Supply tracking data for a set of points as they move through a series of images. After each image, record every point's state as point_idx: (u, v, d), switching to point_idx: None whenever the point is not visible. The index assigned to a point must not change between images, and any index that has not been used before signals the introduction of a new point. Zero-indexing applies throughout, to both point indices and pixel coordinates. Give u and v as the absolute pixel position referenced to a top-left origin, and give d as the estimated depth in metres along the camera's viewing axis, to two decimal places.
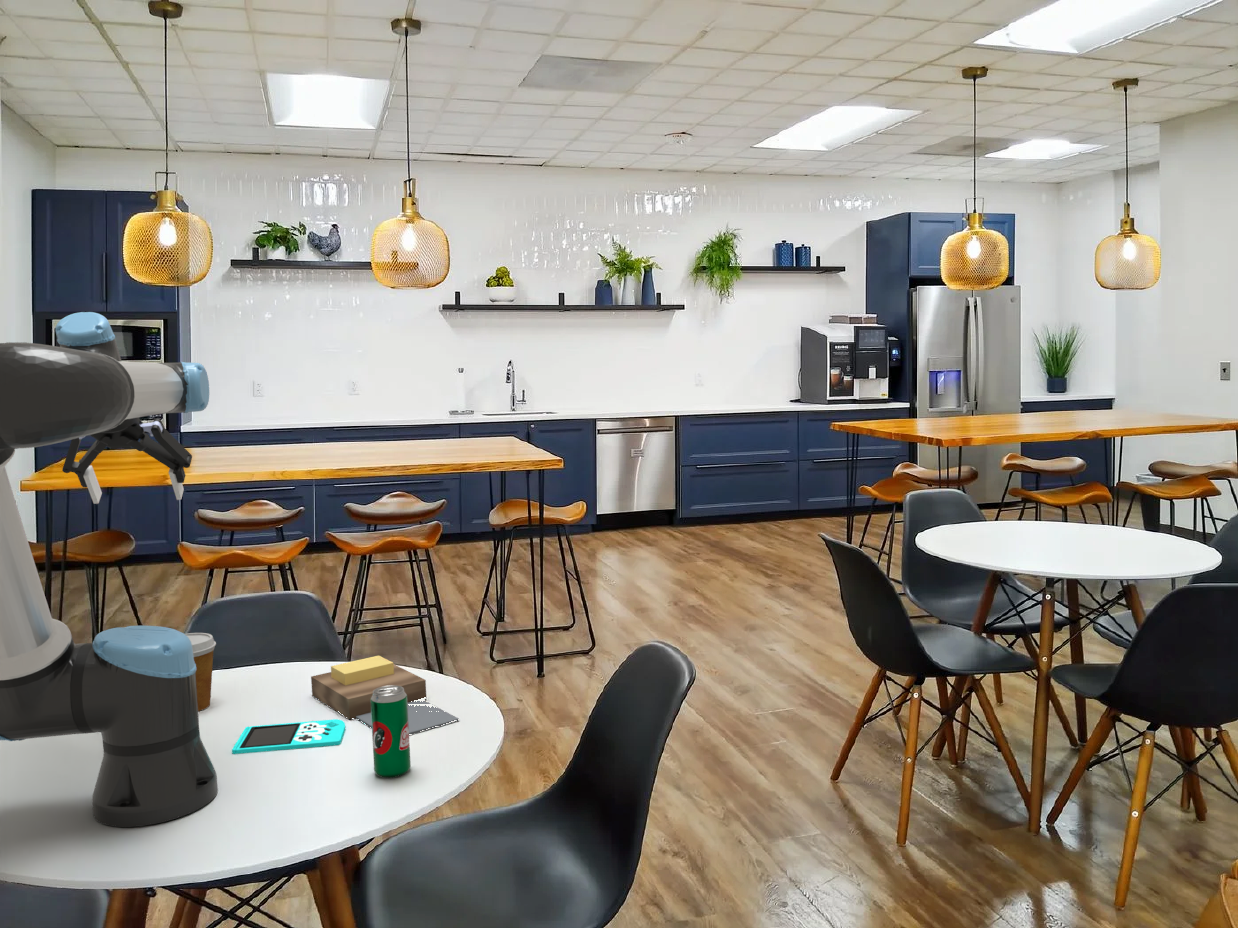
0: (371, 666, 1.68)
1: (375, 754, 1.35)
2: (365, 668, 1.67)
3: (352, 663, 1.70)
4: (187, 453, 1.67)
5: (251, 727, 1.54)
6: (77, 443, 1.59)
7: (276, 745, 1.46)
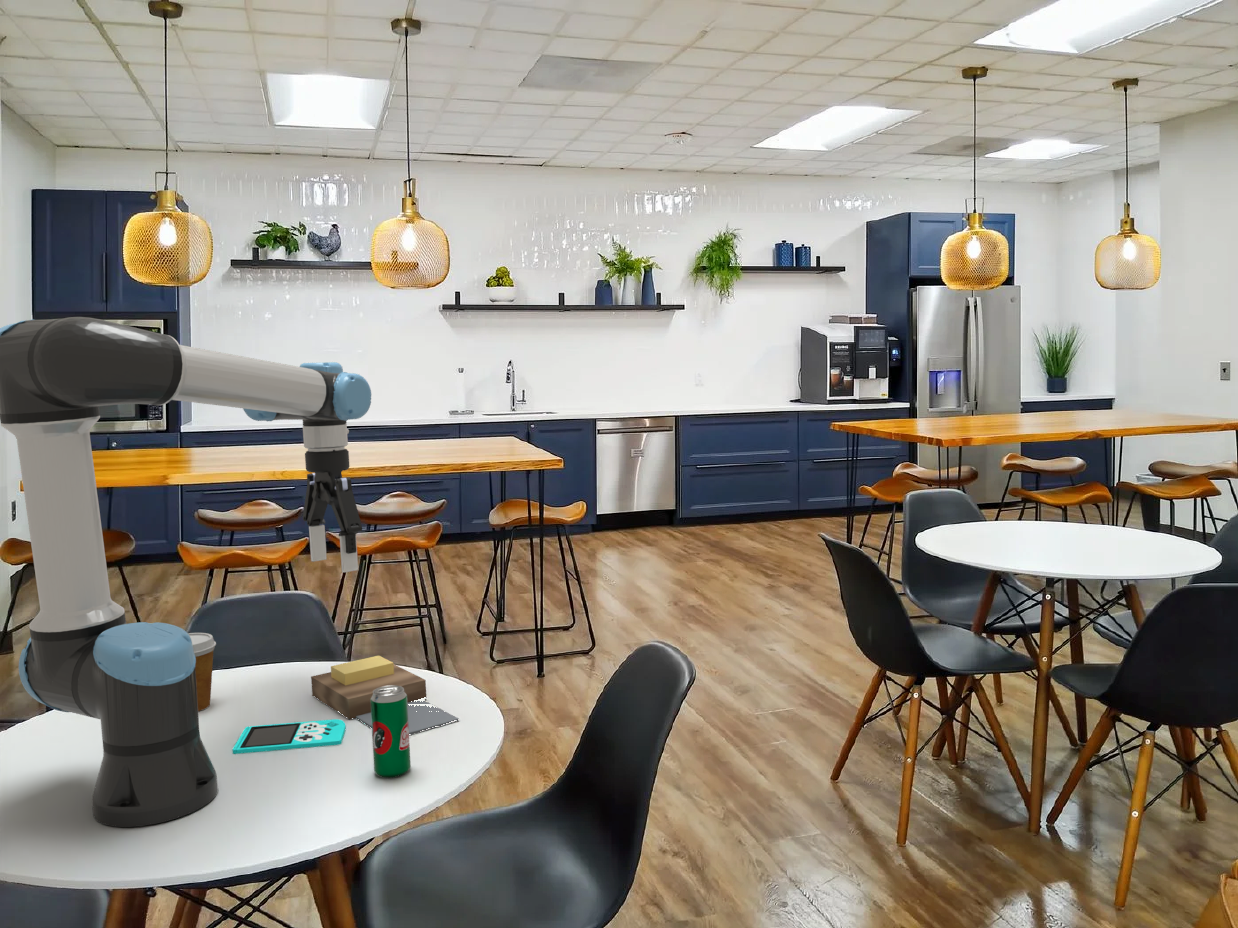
0: (371, 666, 1.68)
1: (375, 754, 1.35)
2: (365, 668, 1.67)
3: (352, 663, 1.70)
4: (357, 522, 1.67)
5: (251, 727, 1.54)
6: (309, 488, 1.77)
7: (277, 745, 1.46)
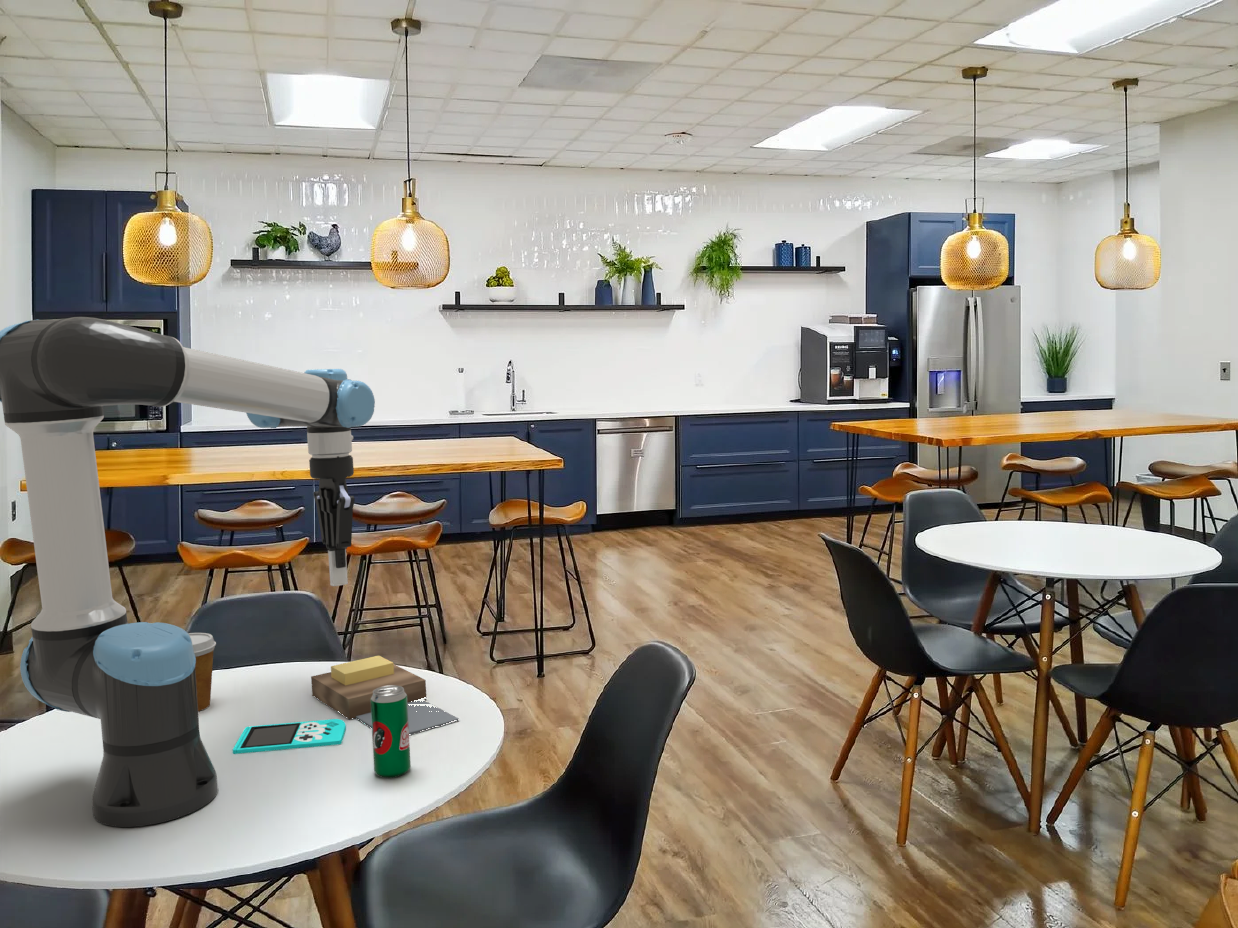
0: (371, 666, 1.68)
1: (375, 754, 1.35)
2: (365, 668, 1.67)
3: (352, 663, 1.70)
4: (348, 540, 1.72)
5: (251, 727, 1.54)
6: (318, 504, 1.76)
7: (277, 745, 1.47)
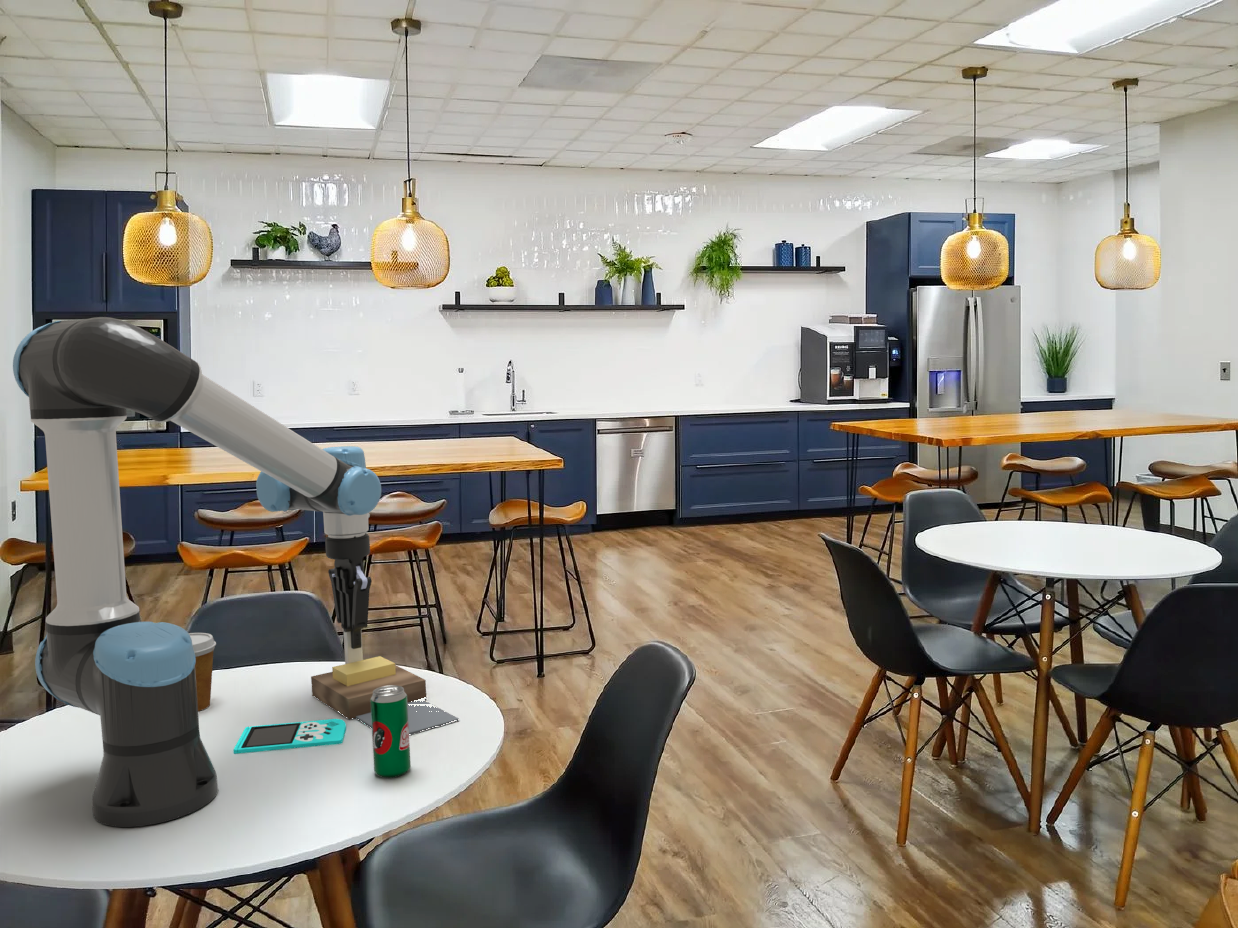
0: (373, 667, 1.68)
1: (375, 754, 1.35)
2: (367, 669, 1.67)
3: (353, 664, 1.70)
4: (364, 621, 1.69)
5: (251, 727, 1.54)
6: (333, 583, 1.73)
7: (278, 745, 1.47)
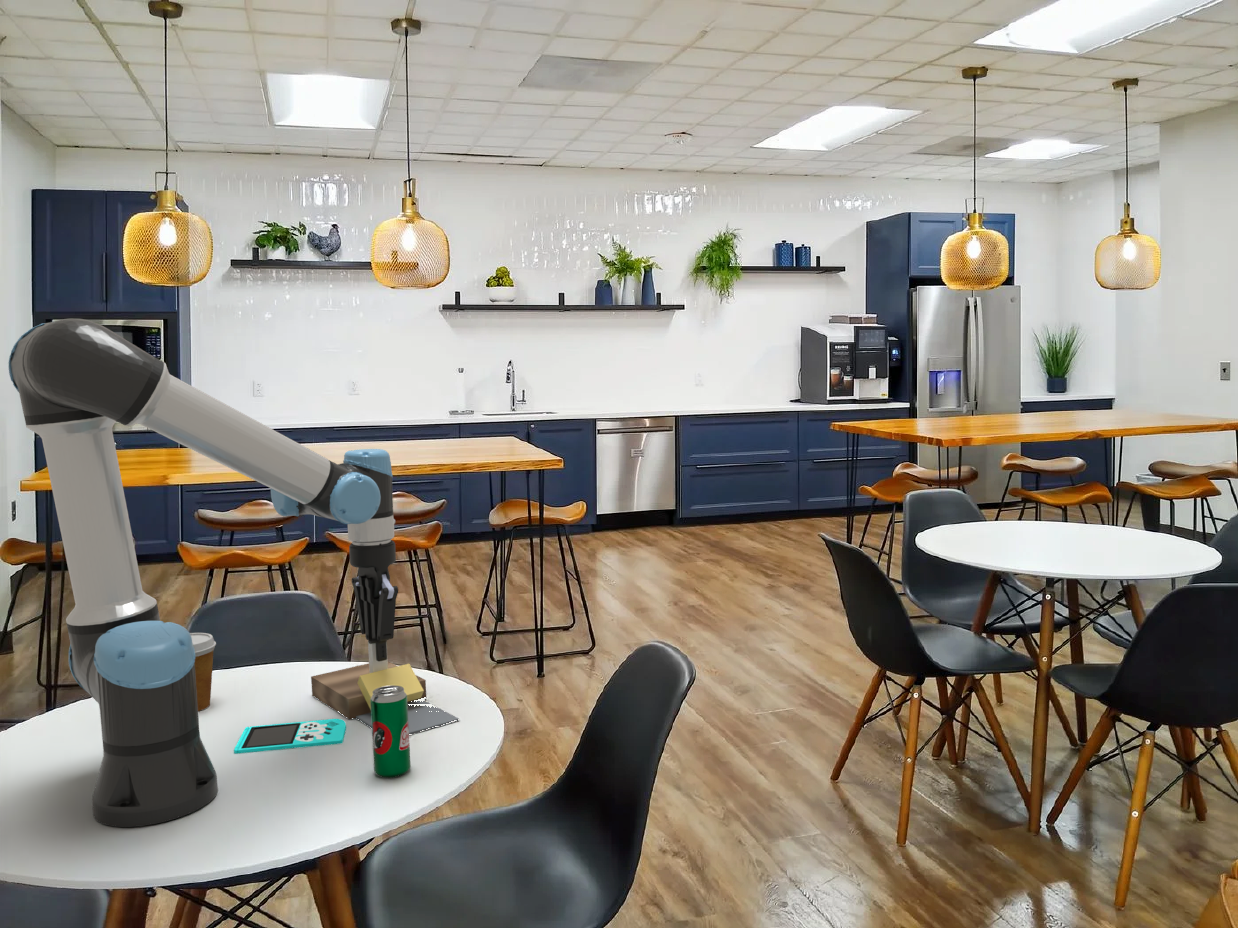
0: None
1: (375, 754, 1.35)
2: None
3: (382, 676, 1.61)
4: (390, 632, 1.61)
5: (251, 727, 1.54)
6: (357, 592, 1.65)
7: (278, 745, 1.47)
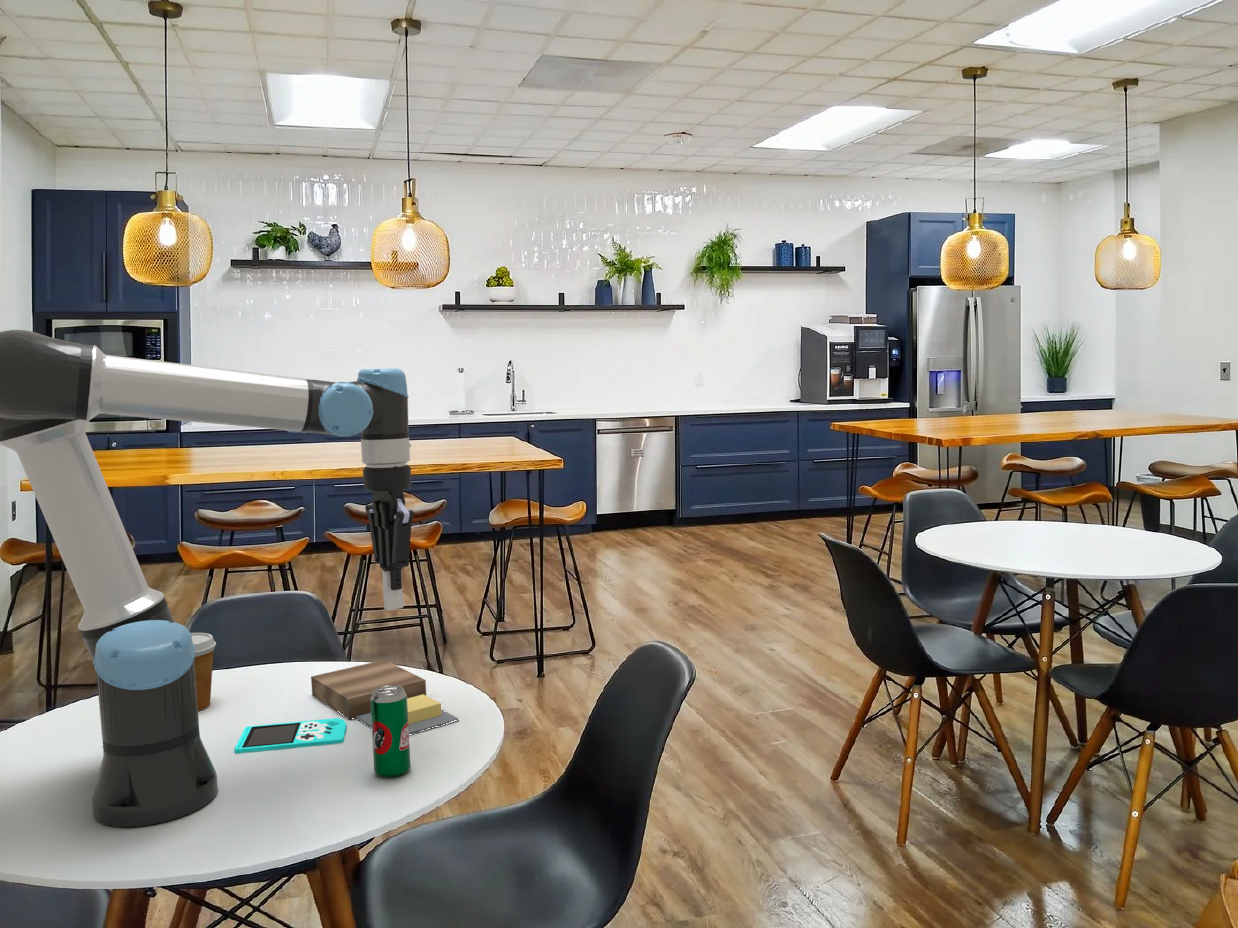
0: None
1: (375, 754, 1.35)
2: None
3: None
4: (406, 559, 1.54)
5: (251, 727, 1.54)
6: (371, 519, 1.59)
7: (279, 744, 1.47)
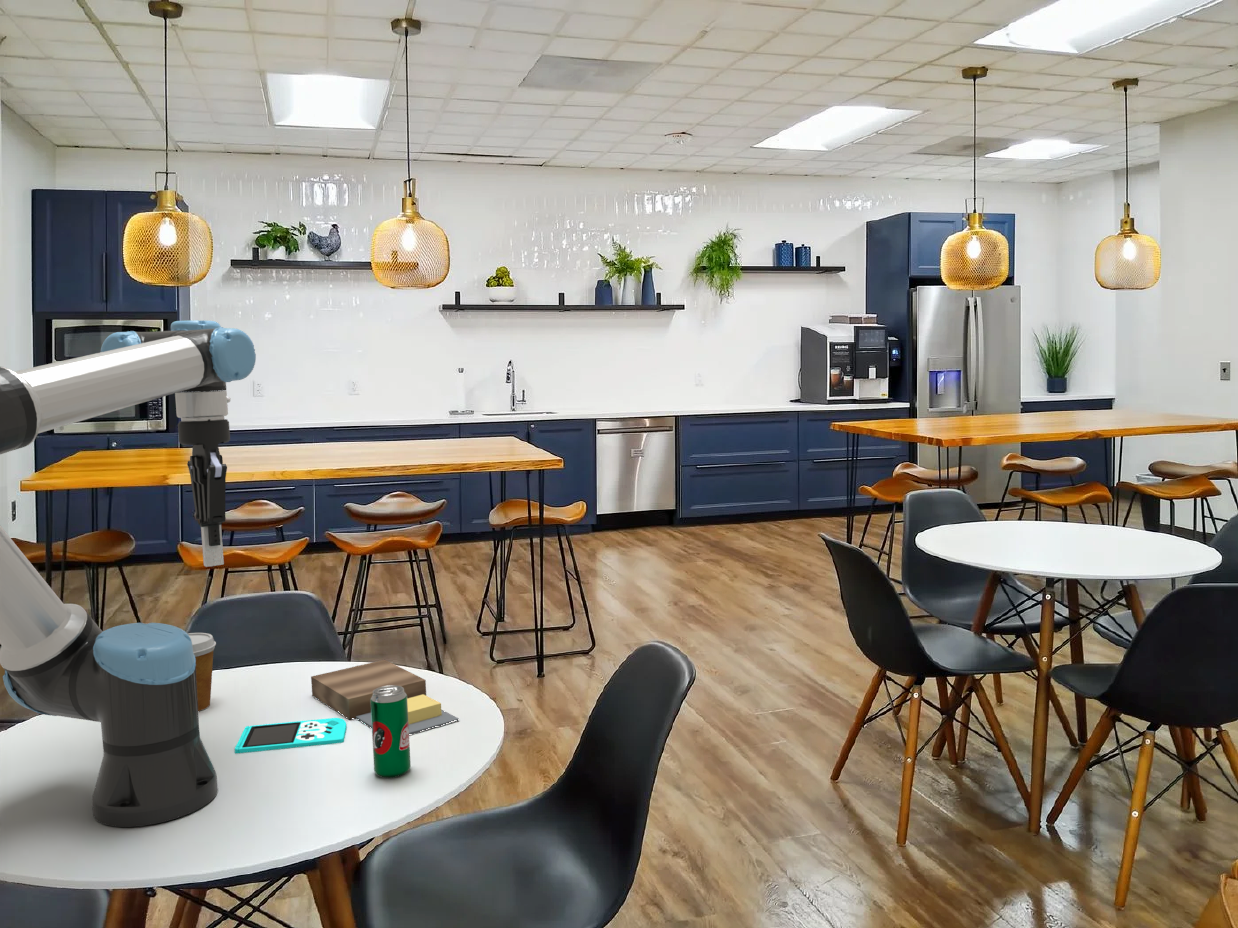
0: None
1: (375, 754, 1.35)
2: None
3: None
4: (221, 514, 1.52)
5: (251, 726, 1.54)
6: (191, 475, 1.57)
7: (279, 744, 1.47)
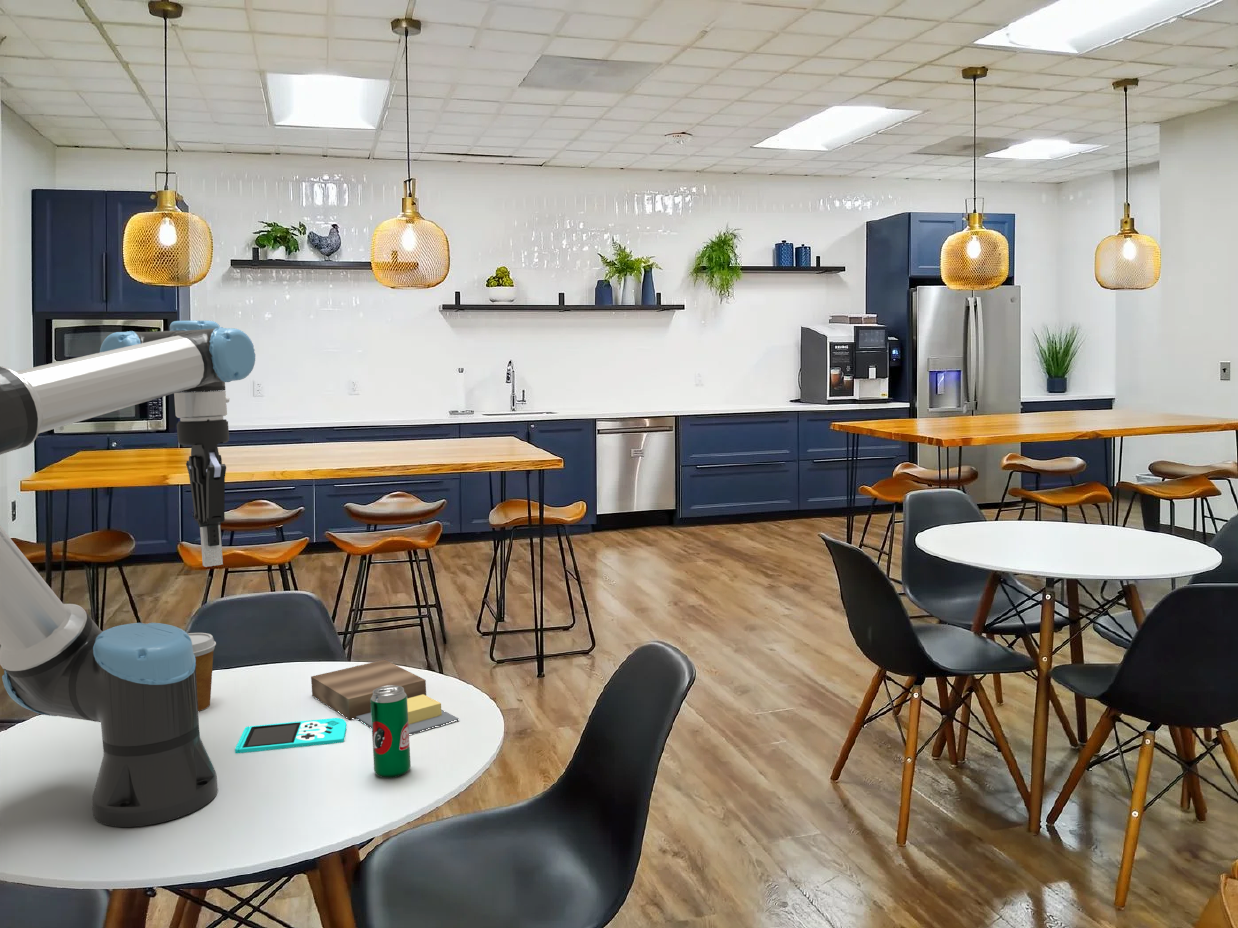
0: None
1: (375, 754, 1.35)
2: None
3: None
4: (221, 514, 1.52)
5: (251, 727, 1.54)
6: (190, 475, 1.57)
7: (279, 744, 1.47)
